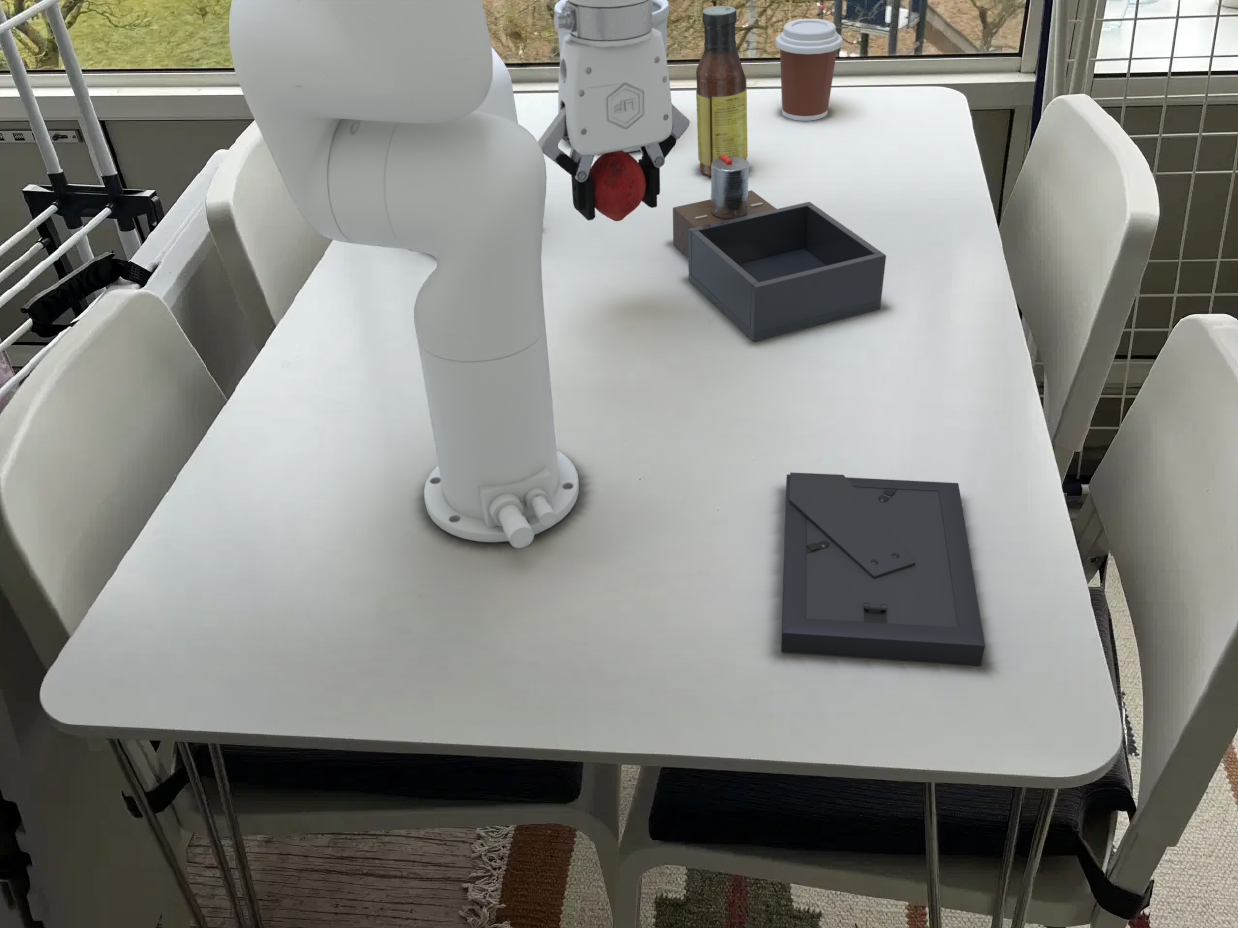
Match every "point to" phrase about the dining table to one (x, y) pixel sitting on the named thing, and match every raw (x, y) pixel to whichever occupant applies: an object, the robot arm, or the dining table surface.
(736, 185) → the metal rotary knob
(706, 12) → the sauce bottle
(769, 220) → the dark grey open box
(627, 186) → the red round fruit
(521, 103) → the dining table surface
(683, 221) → the block
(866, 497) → the picture frame
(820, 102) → the coffee cup
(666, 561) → the dining table surface
